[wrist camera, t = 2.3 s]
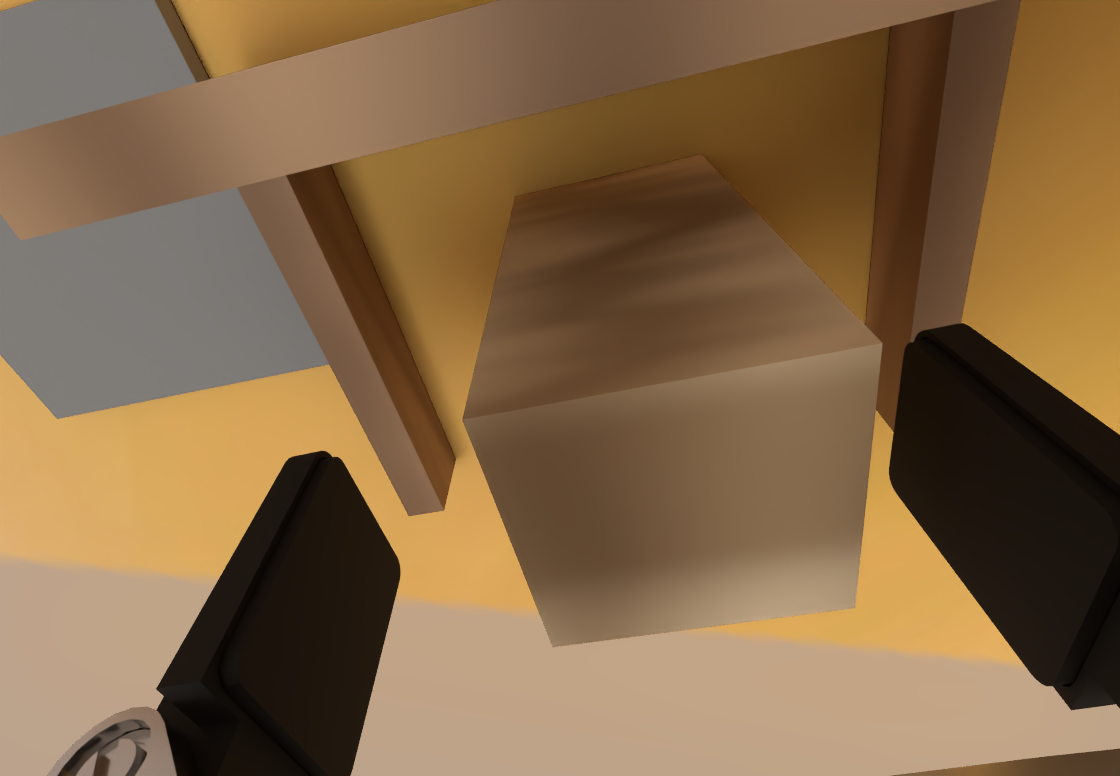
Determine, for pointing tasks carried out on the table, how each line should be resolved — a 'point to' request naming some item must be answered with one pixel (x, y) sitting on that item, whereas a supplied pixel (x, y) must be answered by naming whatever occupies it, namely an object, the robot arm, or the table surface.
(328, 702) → the robot arm
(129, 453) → the table surface
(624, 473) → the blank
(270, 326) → the coaster
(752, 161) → the table surface
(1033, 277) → the table surface
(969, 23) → the wooden arch bench
